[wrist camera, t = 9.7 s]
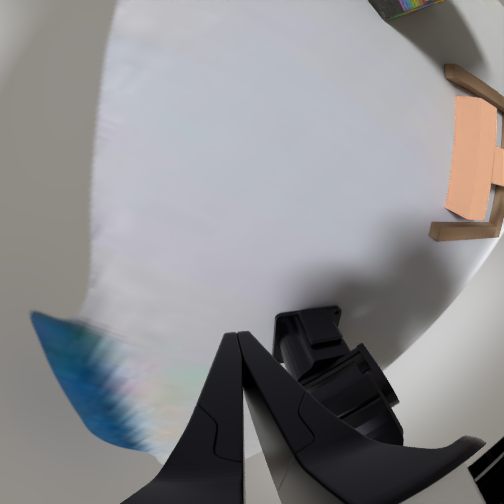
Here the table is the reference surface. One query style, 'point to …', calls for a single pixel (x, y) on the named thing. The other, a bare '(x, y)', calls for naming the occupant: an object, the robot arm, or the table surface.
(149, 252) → the table surface
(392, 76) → the table surface
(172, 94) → the table surface
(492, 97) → the bay
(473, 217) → the t block
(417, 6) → the chalk box
